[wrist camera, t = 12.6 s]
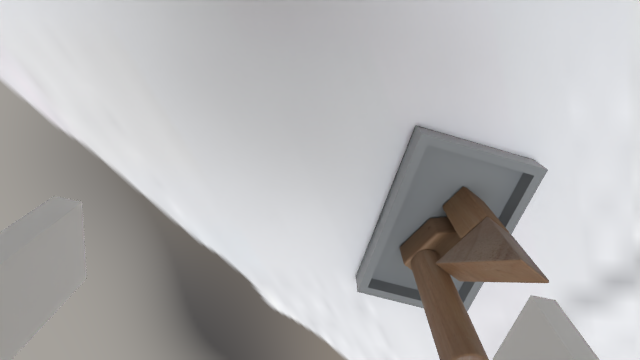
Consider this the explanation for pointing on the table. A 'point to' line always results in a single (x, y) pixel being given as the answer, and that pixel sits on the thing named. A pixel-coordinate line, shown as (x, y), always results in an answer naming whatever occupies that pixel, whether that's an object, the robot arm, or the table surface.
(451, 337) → the brown tapered wooden part
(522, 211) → the tray
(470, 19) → the table surface
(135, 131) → the table surface
